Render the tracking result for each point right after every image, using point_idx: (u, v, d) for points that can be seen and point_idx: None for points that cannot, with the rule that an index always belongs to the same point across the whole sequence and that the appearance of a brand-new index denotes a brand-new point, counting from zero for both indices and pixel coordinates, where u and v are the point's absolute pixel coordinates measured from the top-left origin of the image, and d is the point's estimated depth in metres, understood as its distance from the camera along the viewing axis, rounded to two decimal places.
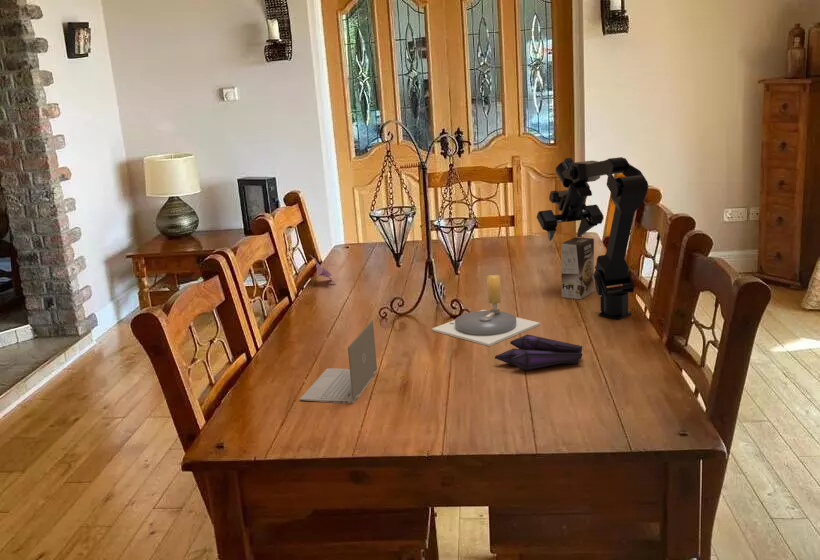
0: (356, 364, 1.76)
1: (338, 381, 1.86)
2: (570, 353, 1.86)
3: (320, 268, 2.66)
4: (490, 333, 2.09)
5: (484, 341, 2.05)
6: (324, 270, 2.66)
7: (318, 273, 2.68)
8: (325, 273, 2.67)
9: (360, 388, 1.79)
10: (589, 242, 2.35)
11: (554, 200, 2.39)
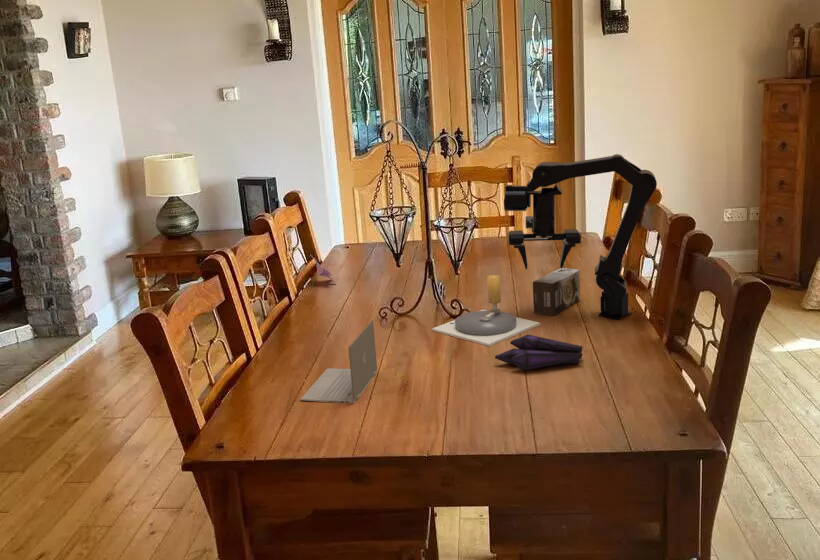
0: (356, 364, 1.76)
1: (338, 381, 1.86)
2: (570, 353, 1.86)
3: (321, 268, 2.66)
4: (490, 333, 2.09)
5: (484, 341, 2.05)
6: (324, 270, 2.66)
7: (318, 273, 2.68)
8: (325, 273, 2.67)
9: (361, 388, 1.79)
10: (554, 295, 2.21)
11: (527, 223, 2.22)
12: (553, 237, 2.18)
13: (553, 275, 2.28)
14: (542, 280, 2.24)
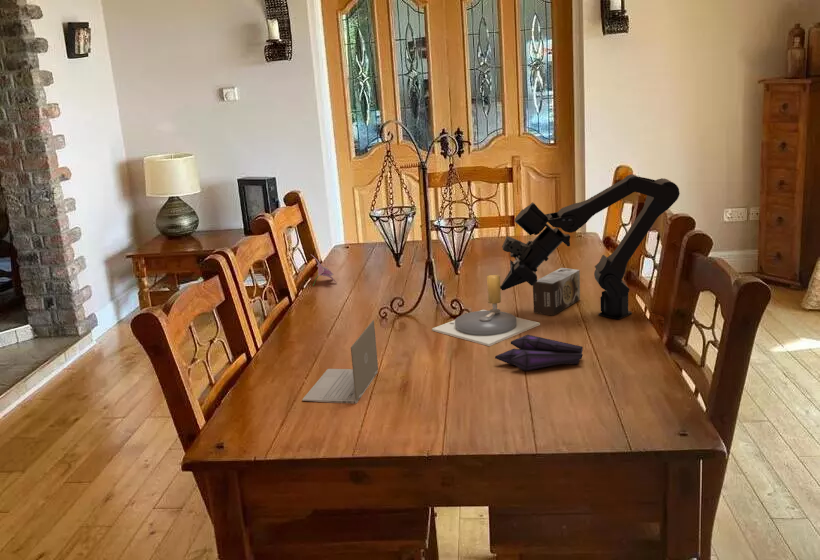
0: (358, 364, 1.76)
1: (340, 381, 1.86)
2: (570, 353, 1.86)
3: (322, 267, 2.66)
4: (490, 333, 2.09)
5: (484, 341, 2.05)
6: (325, 269, 2.67)
7: (319, 273, 2.68)
8: (326, 272, 2.68)
9: (362, 388, 1.79)
10: (554, 295, 2.21)
11: (519, 250, 2.12)
12: None
13: (553, 275, 2.28)
14: (542, 280, 2.24)
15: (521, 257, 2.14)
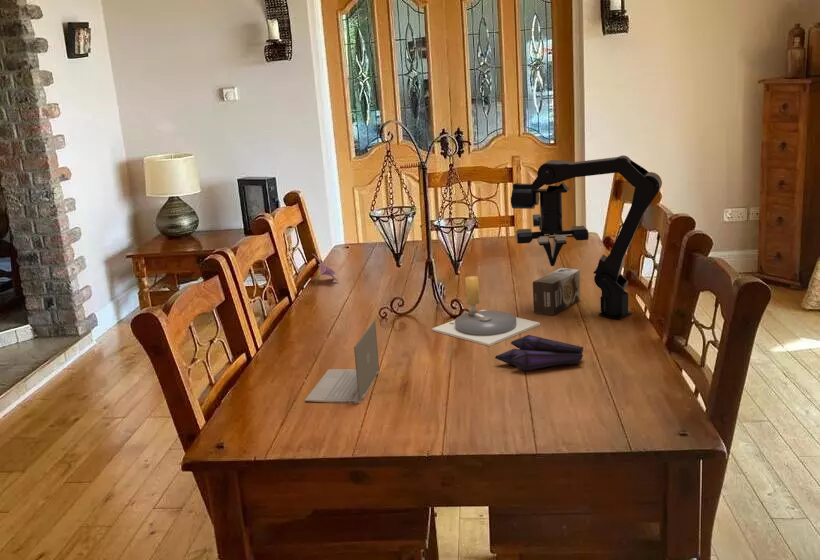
0: (361, 364, 1.76)
1: (341, 382, 1.86)
2: (570, 354, 1.86)
3: (324, 266, 2.67)
4: (514, 326, 2.13)
5: (484, 341, 2.05)
6: (327, 269, 2.67)
7: (321, 272, 2.69)
8: (328, 272, 2.69)
9: (365, 388, 1.79)
10: (554, 295, 2.21)
11: (535, 221, 2.24)
12: None
13: (553, 275, 2.28)
14: (542, 280, 2.24)
15: (539, 227, 2.23)
